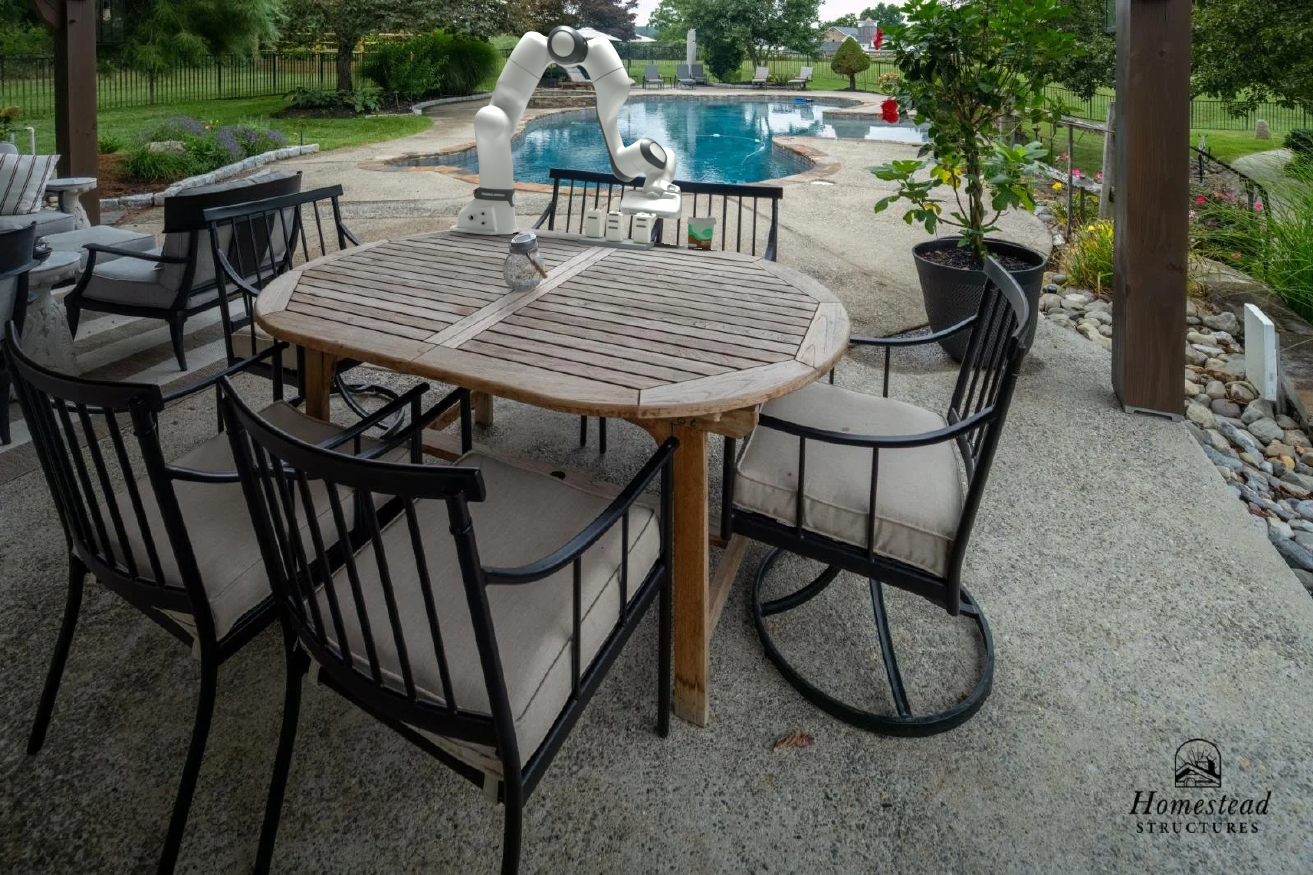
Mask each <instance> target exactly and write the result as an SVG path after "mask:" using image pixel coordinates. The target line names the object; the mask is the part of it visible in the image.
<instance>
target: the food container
mask: <svg viewBox="0 0 1313 875" xmlns="http://www.w3.org/2000/svg"><path fill="white" fill-rule="evenodd" d="M686 223H687V224H688V225H687V249H688V248H692V249H691V250H695V249H694V248H702V249H708V250H711V248H712V242H713V235H714V229H715V225H717V219H716V217H715V216H713V215H707V217H691V216H688V217H687V222H686Z"/></svg>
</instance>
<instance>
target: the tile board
mask: <svg viewBox="0 0 1313 875" xmlns="http://www.w3.org/2000/svg"><path fill="white" fill-rule="evenodd" d="M577 245H584V246H595V247H605V248H612V249H615V248H616V249H623V250H624V249H625V250H632V251H633V250H634V251H643V252H644V251H647V250H649V249H652V248H653V247H655V241H653V240H650V242H649V243H640V242H633V238H624V237H623V241H610V240H606V236H604V235H602V237H589V236H584V237H580V238H578V239H577Z"/></svg>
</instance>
